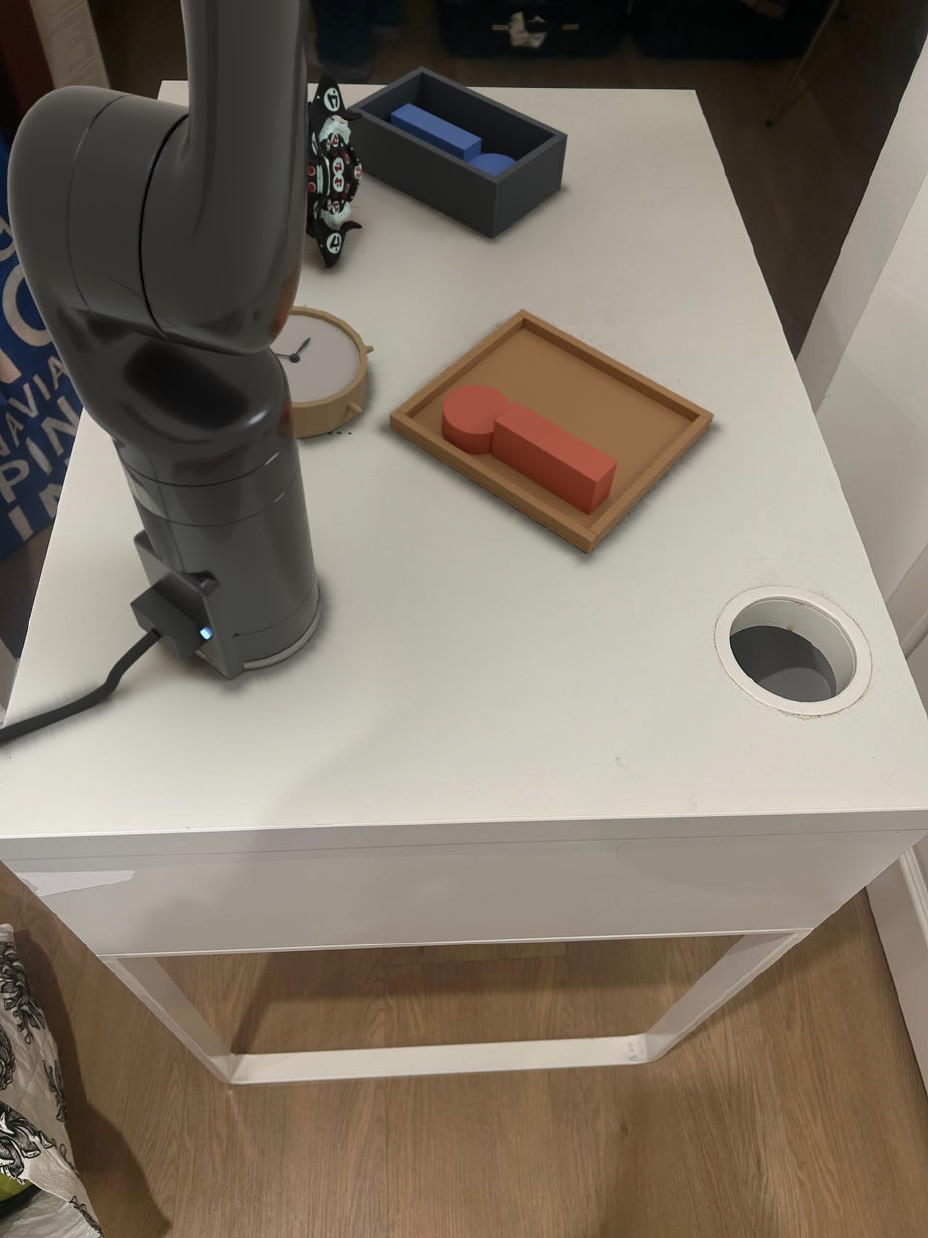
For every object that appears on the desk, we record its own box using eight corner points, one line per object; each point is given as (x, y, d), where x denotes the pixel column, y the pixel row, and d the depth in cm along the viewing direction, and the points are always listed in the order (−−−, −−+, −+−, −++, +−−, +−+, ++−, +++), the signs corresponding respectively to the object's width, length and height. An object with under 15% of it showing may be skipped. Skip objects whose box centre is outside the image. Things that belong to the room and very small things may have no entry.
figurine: (197, 260, 85) (322, 280, 79) (181, 62, 78) (318, 69, 72) (273, 247, 93) (392, 265, 88) (265, 67, 86) (395, 74, 80)
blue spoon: (417, 133, 97) (417, 97, 94) (530, 189, 92) (534, 153, 89) (382, 155, 94) (381, 118, 91) (496, 213, 90) (499, 177, 87)
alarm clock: (362, 417, 71) (152, 374, 69) (354, 463, 75) (154, 423, 73) (379, 317, 77) (187, 274, 75) (370, 363, 81) (188, 324, 79)
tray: (587, 554, 68) (590, 541, 67) (389, 427, 74) (389, 414, 73) (709, 427, 76) (714, 413, 75) (520, 321, 82) (522, 308, 81)
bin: (492, 238, 88) (496, 183, 84) (349, 163, 94) (346, 107, 90) (560, 188, 93) (568, 134, 89) (421, 120, 99) (421, 65, 94)
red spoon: (578, 526, 69) (585, 492, 66) (427, 431, 74) (428, 396, 71) (619, 485, 72) (628, 450, 69) (470, 395, 76) (472, 359, 73)
